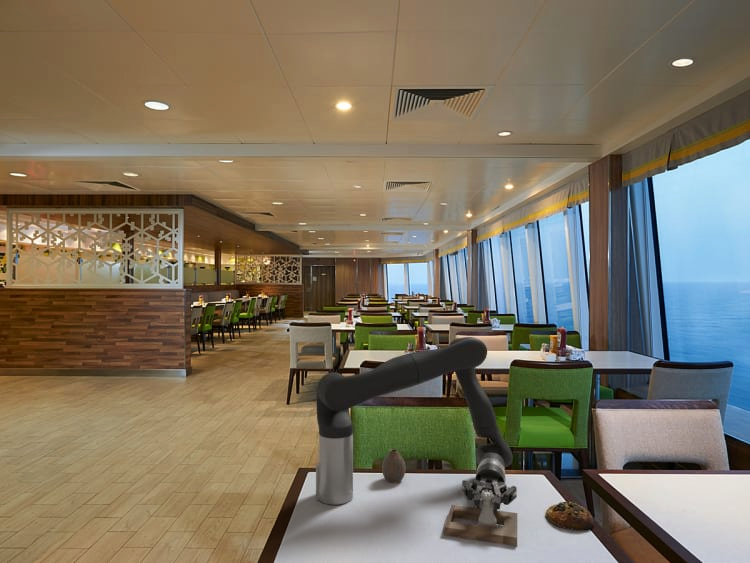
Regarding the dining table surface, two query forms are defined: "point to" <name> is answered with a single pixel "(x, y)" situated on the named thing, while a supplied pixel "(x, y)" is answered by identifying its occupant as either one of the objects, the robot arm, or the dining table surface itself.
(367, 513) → the dining table surface
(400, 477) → the vase
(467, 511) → the rectangular wooden frame
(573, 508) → the bread roll
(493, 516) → the rook chess piece
